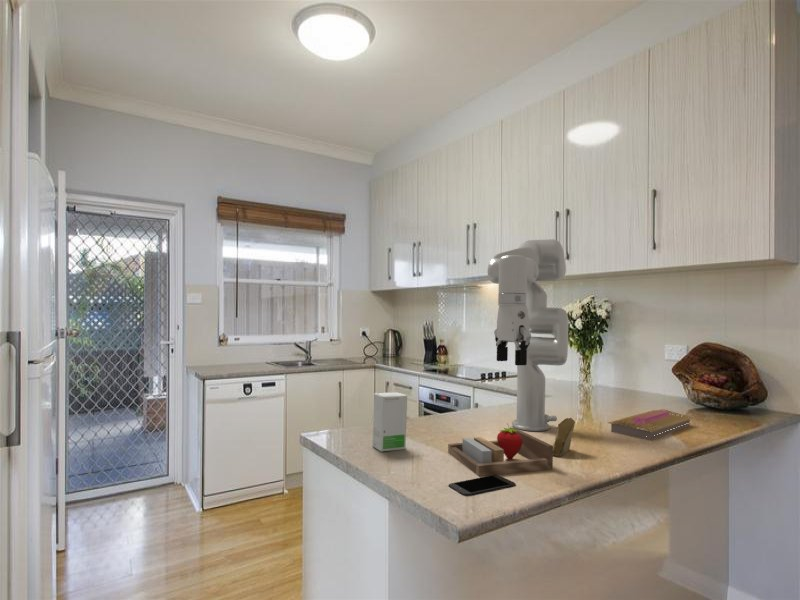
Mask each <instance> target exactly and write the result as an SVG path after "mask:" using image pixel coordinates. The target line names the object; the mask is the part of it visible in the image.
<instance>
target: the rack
mask: <svg viewBox="0 0 800 600" xmlns="http://www.w3.org/2000/svg"><path fill="white" fill-rule="evenodd" d="M509 429H513V430H518V431H517V432H515V433H517V434H519V435H520V436H521V437H522V441H523V443H522V446H521V449H520V450H519V451H518V453H517V454H519V455H520V456H521V457H522V456H523V457H524V458H526V459H518V460H508V461H507V460H506V461H504V462H493V463H481V464H479V463H477V462H476V461H475V460H473V459H472V458H470V457H469V456H468V455H466V454H465V453H463V452H462V444H463V442H456V443H448V444H447V445H448V446H447V450H448V451H447V453H448V454H449V455H450V456H452V457H453V458H454V459H455V460H457V461H459V462H460V464H462V465H463V466H465V467H466V468H467V469H468V470H470V471H472V473H474V474H475V475H477V477H486V476H491V475H503V474H504V475H505V474H507V475H508V474H516V473H517V474H518V473H526V472H528V473H529V472H538V471H547V470H548V471H550V470H553V469H554V467H553V463H554V460H553V459H554V458H553V457H554V455H553V445H552V444H550V443H548V442H545V441H544V440H541V439H540V438H538V437H536V436H533V435H531V434H529V433H526V432H524V431H523V430H521V429H518V428H515V427H513V426H512V427H509ZM488 441H489V442H491V443H493V444H495V445H496V446H498V447H499V445H498V441H497V439H496V440H488Z"/></svg>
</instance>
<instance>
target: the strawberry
mask: <svg viewBox="0 0 800 600" xmlns="http://www.w3.org/2000/svg"><path fill="white" fill-rule="evenodd" d="M506 424H507V426H508V427H503V429H501V430H500V431H499V432H498V434H497V436H496V440H497V441H498V445H499V447H500V448H502V449H503V450H504V457H506V459H507V460H508V461H512V460H513V458H514V457H515V456H516V455H517V454H519V453H518V451H519V450H520V449H521V446H522V443H523V441H522V437H521V436H520V435H519V434H517V433H515V432H517V431H518V430H519V429H518V430H513V429H509V428H510V426H509V424H508V423H507V422H506Z"/></svg>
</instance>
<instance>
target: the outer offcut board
mask: <svg viewBox="0 0 800 600" xmlns="http://www.w3.org/2000/svg"><path fill="white" fill-rule="evenodd" d="M462 443H463V444H462V452H463V453H465V454H466V455H468V456H469V457H470V458H472V459H473V460H475V461H476V462H477V463H479V464H481V463H491V454H492V451H491V450H490V449H488V448H486V447H485V446H483V445H481V444H480V443H478V442H477V441H475V440H474V438H471V437H466V438H462Z"/></svg>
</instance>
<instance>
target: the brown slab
mask: <svg viewBox="0 0 800 600" xmlns="http://www.w3.org/2000/svg"><path fill="white" fill-rule="evenodd" d="M691 419H693V416H692V417H691V416H688V415H685V414H682V413H678V412H675V411H672V410H668V409H662V408H661V409H655V410H654V409H653V410H649V411H645V412H642V413H639V414H634V415H632V416H631V415H630V416H627V417H624V418H620V419H616V420H613V421H609V422H607V424H610V425H611V427H610V428H611V429H610V432H611V433H614V434H619V435H624V436H627V437H633V438H635V439H636V438H638V439H641V440H646V441H652V440H655V439H659V438H661V437H663V436H667V435H669V434H671V433H674V432H677V431H680V430H682V429H685V428H688V427H690V426H691V425H690V424H691V423H689V422H691V421H690V420H691ZM686 423H689V424H686ZM684 424H686V425H684ZM681 425H683V426H681ZM678 426H680V427H678ZM676 427H677V428H676ZM673 428H675V429H673ZM670 429H672V430H670ZM667 430H669V431H667ZM665 431H666V432H665ZM662 432H663V433H662ZM659 433H661V434H659ZM657 434H658V435H657ZM654 435H655V436H654ZM646 436H647V437H646Z"/></svg>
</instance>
